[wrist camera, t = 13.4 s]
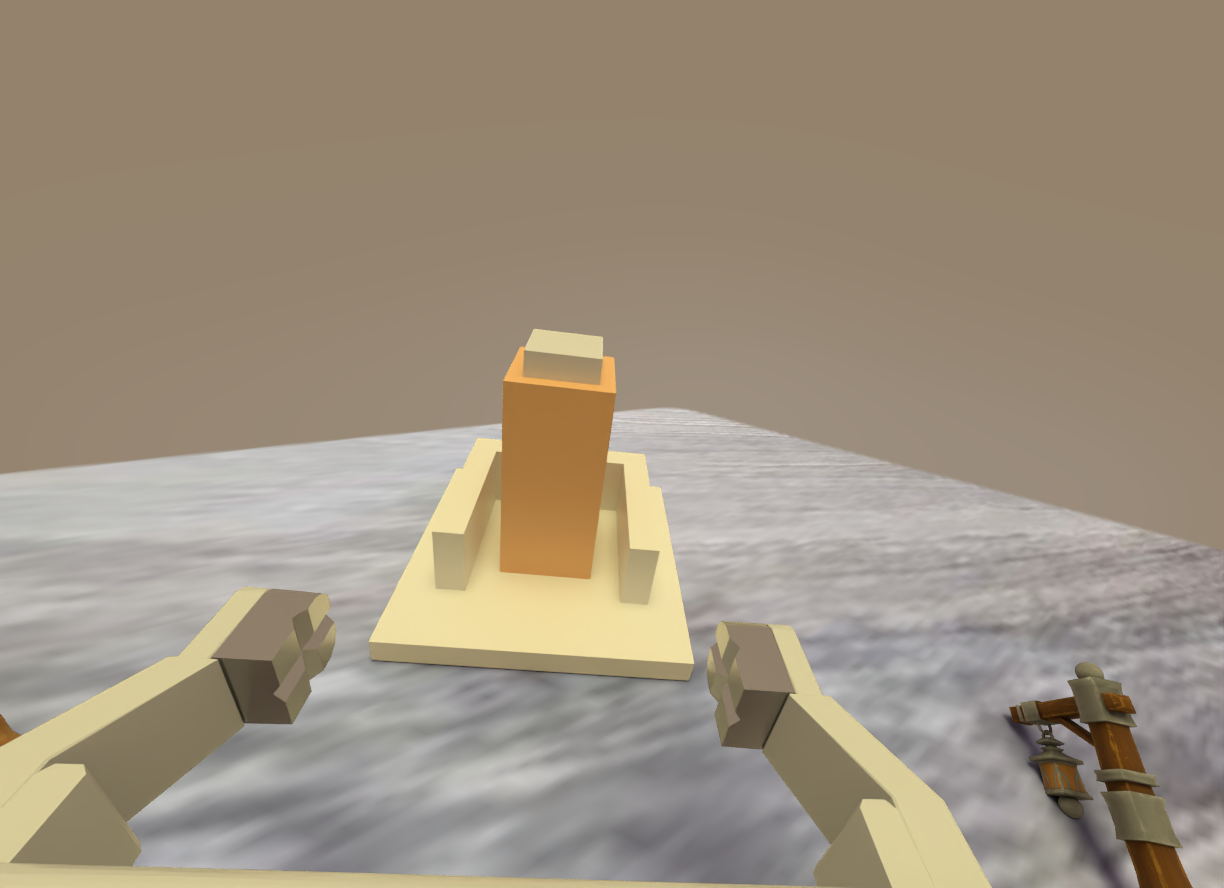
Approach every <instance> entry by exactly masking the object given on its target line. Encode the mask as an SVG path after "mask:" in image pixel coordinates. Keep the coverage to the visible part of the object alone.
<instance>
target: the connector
mask: <svg viewBox="0 0 1224 888" xmlns="http://www.w3.org/2000/svg"><path fill="white" fill-rule="evenodd" d="M615 397H616V384H615V366H614V358H613V357H605V356H603V337H598V336H589V335H580V334H573V333H564V332H556V331H547V330H539V329H534V330H533V332H532V334H531V337H530V338H529V341H528V343H527V345H526V347H520V349H519V351H518V353H517V355H516V357H515V359H514V361H513V363H512V365H511V366H510V368H509V370H508V373H507V374H506V376H505V378H504V380H503V419H502V420H503V421H502V473H501V528H500V572H507V573H519V574H531V575H543V576H555V577H567V578H580V579H590V577H591V570H592V563H593V555H594V548H595V541H596V534H597V527H598V520H599V512H600V505H601V498H602V491H603V484H604V477H605V469H606V462H607V455H608V448H609V441H610V434H611V426H612V419H613V412H614V405H615Z"/></svg>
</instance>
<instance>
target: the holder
mask: <svg viewBox="0 0 1224 888" xmlns="http://www.w3.org/2000/svg"><path fill="white" fill-rule="evenodd" d="M501 473H502V440H494V439H485V438H477V440H476V442H475V444H474V446H473V448H472V450H471V452H470V455H469V457H468V459H467V461H466V463H465V465H464V467H463V468H457V469H456V471H455V473H454V475H453V477H452V479H451V481H450V483H449V485H448V487H447V489H446V491H445V493H444V495H443V497H442V499H441V501H440V503H439V505H438V507H437V509H436V510H435V512H434V514H433V516H432V518H431V520H430V522H429V524H428V526H427V528H426V530H425V532H424V534H423V536H422V538H421V540H420V542H419V544H418V546H417V548H416V550H415V552H414V554H413V556H412V558H411V560H410V562H409V563H408V565H407V567H406V569H405V571H404V573H403V575H402V577H401V579H400V581H399V583H398V585H397V587H396V589H395V591H394V593H393V595H392V597H391V599H390V601H389V603H388V605H387V607H386V609H385V611H384V613H383V614H382V616H381V618H380V620H379V622H378V624H377V626H376V628H375V630H374V632H373V634H372V636H371V638H370V640H369V647H370V653H371V658H372V660H380V661H396V662H411V663H426V664H441V665H457V666H472V667H487V668H503V669H518V670H533V671H548V672H564V673H579V674H594V675H610V676H625V677H640V678H655V679H671V680H686V681H689V679H690V675H691V672H692V669H693V666H694V661H693V655H692V650H691V645H690V640H689V634H688V629H687V624H686V619H685V613H684V608H683V603H682V598H681V592H680V587H679V582H678V577H677V571H676V566H675V561H674V556H673V550H672V545H671V540H670V535H669V529H668V524H667V519H666V514H665V508H664V503H663V498H662V493H661V487H651V486H650V484H649V478H648V472H647V465H646V459H645V455H643V454H634V453H624V452H614V451H608V455H607V462H606V469H605V477H604V484H603V491H602V498H601V505H600V512H599V520H598V527H597V534H596V541H595V548H594V555H593V563H592V570H591V577H590V579H580V578H567V577H555V576H543V575H531V574H519V573H507V572H500V528H501Z"/></svg>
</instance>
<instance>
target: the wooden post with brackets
mask: <svg viewBox="0 0 1224 888" xmlns="http://www.w3.org/2000/svg"><path fill="white" fill-rule="evenodd" d="M1075 673H1076V675H1077V677H1078V678H1079V679H1074V680H1069V681H1067V682H1068V683H1069V685H1070V687H1071V689H1072V691H1073V695H1074V697H1069V698H1063V699H1057V700H1051V701H1046V702H1039V701H1028V702H1023V703H1021V706H1019V705H1016V707H1009V708H1010V712H1011V715H1012V718H1013V722H1016V723H1020V724H1025V725H1034V724H1035V725H1037V726H1038V728H1039V730H1040V731H1041V732H1042V739H1040V740H1038V741H1036V743H1038V744H1041V745H1045V746H1046V747H1043V748H1040V749H1042V750H1043V751H1044V752H1042V753H1041V754H1039V755H1036V756H1033V757H1029V759H1030V761H1035V762H1038V764H1039V766H1040V770H1041V774H1042V778H1043V783H1044V789H1045V791H1046V792H1045V793H1046V794H1047V795H1052V796H1057V797H1059V799H1058V805H1059V807H1060V809H1061V810H1062V811H1063V812H1064V813H1065V814H1066V815H1068V816H1070V817H1072V818H1080V817H1082V816H1083V814H1084V810H1083V807H1082V805H1081V803H1080V802H1079V801H1078V800H1093V797H1091V796H1090V795H1089V794H1088V792H1087V791H1086V789H1085V787H1084V784H1083V782H1082V780H1081V777H1080V775H1079V773H1078V770H1077V765H1082V764H1084V763H1083V761H1080V760H1077V759H1074V758H1072V757H1070V756H1068V755H1065V754H1064V753H1062V751H1063V749H1060V748H1057V747H1056V746H1061V745H1064V743H1062V742H1060V741H1058V740H1056V739H1054V736H1053V734H1052V727H1051V725H1055V724H1062V725H1064V726H1065V727H1066V728H1068V729H1069V730H1071V731H1072V732H1074V733H1075V734H1077V735H1078V736H1079V737H1081V738H1082V739H1084V740H1085V741H1087V742H1088V743H1090V744H1091V745H1093V746H1094V747H1095V749H1096V753H1097V756H1098V760H1099V764H1100V767H1101V770H1094V772H1095V773H1096V775H1097V780H1096V781H1100V782H1105V784H1106V787H1107V790H1108V792H1101V794H1102V796H1103V797H1104V799H1105V801H1106V803H1107V805H1108V808H1109V811H1110V813H1111V816H1112V819H1113V822H1114V825H1115V830H1116V839H1119V840H1124V841H1125V842H1126V845H1127V848H1128V851H1129V854H1130V856H1131V859H1132V862H1133V865H1134V868H1135V871H1136V874H1137V878H1138V882H1139V886H1140V888H1192V886H1191V884H1190V882H1189V880H1188V878H1187V876H1186V873H1185V871H1184V869H1183V866H1182V864H1181V862H1180V860H1179V857H1178V855H1177V853H1176V851H1175V848H1183V847H1182V846H1181V844H1180V842H1179V841H1178V839H1177V837H1176V836H1175V834H1174V831H1173V828H1172V826H1171V823H1170V820H1169V818H1168V815H1167V812H1166V808H1165V800H1164V798H1161V797H1156V796H1155V794H1154V792H1153V790H1152V788H1151V787H1160V786H1159V785H1158V784H1157V782H1156V779H1155V776H1153V775H1149V774H1146V772H1145V769H1144V766H1143V764H1142V761H1141V758H1140V756H1139V753H1138V750H1137V748H1136V745H1135V742H1134V739H1133V737H1132V734H1131V731H1130V729H1129V727H1137V725H1136V724H1135V722H1134V721H1133V719H1132V718H1131V715H1130V714H1136V711H1135V709H1134V707H1133V705H1132V702H1131V700H1130V698H1129V696H1124V695H1123V693H1122V687H1121V683H1119V682H1115V681H1110V680H1105V679H1104V674H1103V672H1102V670H1101V669H1100V668H1099V667H1097V666H1096V665H1094V664H1092V663H1088V662H1083V663H1079V664H1078V665H1077V666H1076V667H1075ZM1078 718H1080V722H1081V723H1085V724H1088V725H1089V728H1090V732H1091V733H1090V732H1088V731H1087V730H1085V729H1084V728H1082V727H1081V726H1079V725H1078V724H1076V723H1075V722H1074V721H1072V720H1071V719H1078ZM1040 725H1045V726H1047V725H1048V727H1049V731H1048V730H1045V731H1043V730H1042V728H1041V726H1040ZM1045 734H1046V735H1050V736H1051V738H1050V737H1045Z"/></svg>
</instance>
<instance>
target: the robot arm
mask: <svg viewBox="0 0 1224 888" xmlns="http://www.w3.org/2000/svg"><path fill="white" fill-rule="evenodd" d="M330 607H331V605H330V602H329V598H328V595H326V594H322V593H312V592H301V591H291V590H281V589H267V588H256V587H244V588H242V589H240V590H239V591H237V592H236V593H235V594H234V595H233V596H232V597H231V598H230V599H229V600H228V601H227V603H226V604H225V605H224V606H223V607H222V608H221V609H220V610H219V611H218V613H217V614H216V615H215V616H214V617H213V618H212V619H211V620H210V621H209V623H208V624H207V625H206V626H205V627H204V628H203V629H202V630H201V631H200V632H199V634H198V635H197V636H196V637H195V638H194V639H193V640H192V641H191V642H190V644H189V645H188V646H187V647H186V648H185V649H184V650H183V651H182V652H181V654H180V655H179V656H178V657H174V656H169V657H167V658H165V659H163V660H161V661H159V662H158V663H156V664H154V665H152V666H150V667H148V668H146V669H145V670H143V671H141V672H139V673H137V674H135V675H133V676H132V677H130V678H128V679H126V680H124V681H122V682H120V683H118V684H117V685H115V686H113V687H111V688H109V689H107V690H105V691H104V692H102V693H100V694H98V695H96V696H94V697H92V698H91V699H89V700H87V701H85V702H83V703H81V704H79V705H77V706H76V707H74V708H72V709H70V710H68V711H66V712H64V713H63V714H61V715H59V716H57V717H55V718H53V719H51V720H50V721H48V722H46V723H44V724H42V725H40V726H38V727H36V728H35V729H33V730H31V731H29V732H27V733H25V734H23V735H22V736H20V737H18V738H16V739H14V740H12V741H10V742H9V743H7V744H5V745H3V746H1V747H0V888H992V887H991V885H990V884H989V882H988V880H987V878H986V876H985V875H984V873H983V871H982V869H981V867H980V866H979V864H978V862H977V860H976V858H975V857H974V855H973V853H972V851H971V849H970V847H969V846H968V844H967V842H966V840H965V838H964V837H963V835H962V833H961V831H960V829H959V828H958V826H957V824H956V822H955V820H954V819H953V817H952V815H951V813H950V811H949V810H948V808H947V806H946V804H945V802H944V801H943V800H942V799H941V798H940V797H939V796H938V795H937V794H936V793H935V792H934V791H933V790H931V789H930V788H929V787H928V786H927V785H926V784H925V783H924V782H923V781H922V780H921V779H919V778H918V777H917V776H916V775H915V774H914V773H913V772H912V771H911V770H910V769H909V768H907V767H906V766H905V765H904V764H903V763H902V762H901V761H900V760H899V759H898V758H897V757H895V756H894V755H893V754H892V753H891V752H890V751H889V750H888V749H887V748H886V747H885V746H884V745H882V744H881V743H880V742H879V741H878V740H877V739H876V738H875V737H874V736H873V735H872V734H870V733H869V732H868V731H867V730H866V729H865V728H864V727H863V726H862V725H861V724H860V723H858V722H857V721H856V720H855V719H854V718H853V717H852V716H851V715H850V714H849V713H848V712H846V711H845V710H844V709H843V708H842V707H841V706H840V705H839V704H838V703H837V702H836V701H835V700H833V699H832V698H831V697H830V696H823V695H822V693H821V690H820V688H819V686H818V683H817V681H816V679H815V677H814V674H813V672H812V670H811V668H810V665H809V663H808V661H807V659H806V656H805V654H804V652H803V650H802V647H801V645H800V643H799V640H798V638H797V636H796V634H795V631H794V630H793V629H792V628H791V627H790V626H786V625H771V624H766V625H765V624H760V623H743V622H726V621H721V622H720V623H719V624H718V626H717V629H716V632H715V634H716V639H717V643H716V644H715V645H713V646H712V647H711V648H710V651H709V655H708V660H707V679H708V685H709V690H710V694H711V695H712V696H713V697H714V698H715V699H716V701H717V702H718V705H717V708H716V711H715V719H716V723H717V728H718V732H719V737H720V741H721V746H723V747H736V748H748V749H760V750H763V751H762V753H763V754H764V755H765V757H766V758H767V759H768V761H769V762H770V763H771V765H772V766H773V767H774V769H775V770H776V771H777V773H778V774H779V775H780V777H781V778H782V779H783V781H784V782H785V783H786V785H787V786H788V788H789V789H790V790H791V792H792V793H793V794H794V796H795V797H796V798H797V800H798V801H799V802H800V804H801V805H802V806H803V808H804V809H805V810H806V812H807V813H808V814H809V816H810V817H811V818H812V820H813V821H814V823H815V824H816V825H817V827H818V828H819V829H820V831H821V832H822V833H823V835H824V836H825V837H826V839H827V840H828V841H829V843H830V844H831V845H830V847H829V848H828V850H827V851H826V853H825V854H824V855H823V857H822V858H821V860H820V861H819V863H818V864H817V866H816V868H815V869H814V871H813V874H814V877H815V880H816V884H817V887H816V886H782V885H749V884H715V883H681V882H648V881H614V880H581V879H547V878H513V877H480V876H446V875H412V874H379V873H345V872H310V871H276V870H242V869H207V868H173V867H139V866H132V865H133V863H134V862H135V860H136V859H137V857H138V856H139V854H140V853H141V844H140V841H139V840H138V838H137V837H136V836H135V834H134V833H133V831H132V830H131V829H130V827H129V826H128V825H127V823H126V822H127V821H128V820H130V819H131V818H132V817H133V816H134V815H136V814H137V813H138V812H139V811H141V810H142V809H143V808H144V807H146V806H147V805H148V804H149V803H150V802H152V801H153V800H154V799H155V798H157V797H158V796H159V795H160V794H161V793H163V792H164V791H165V790H166V789H168V788H169V787H170V786H171V785H173V784H174V783H175V782H176V781H177V780H179V779H180V778H181V777H182V776H184V775H185V774H186V773H187V772H189V771H190V770H191V769H192V768H193V767H195V766H196V765H197V764H198V763H200V762H201V761H202V760H203V759H204V758H206V757H207V756H208V755H209V754H211V753H212V752H213V751H214V750H216V749H217V748H218V747H219V746H220V745H222V744H223V743H224V742H225V741H227V740H228V739H229V738H230V737H232V736H233V735H234V734H235V733H236V732H238V731H239V730H240V729H241V728H243V727H244V723H256V724H293V722H294V721H295V719H296V717H297V715H298V714H299V712H300V710H301V709H302V707H303V705H304V703H305V702H306V700H307V698H308V696H309V695H310V693H311V686H310V681H309V680H310V679H312V678H313V677H315V676H316V675H317V674H319V673H320V672H322V671H323V670H324V668H325V667H326V665H327V663H328V661H329V659H330V657H331V655H332V651H333V648H334V645H335V640H336V628H335V623H334V621H332V620H331V619H330V618H329V617H328V616H327V615H326V613H327V612H328V610H329V609H330Z"/></svg>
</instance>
